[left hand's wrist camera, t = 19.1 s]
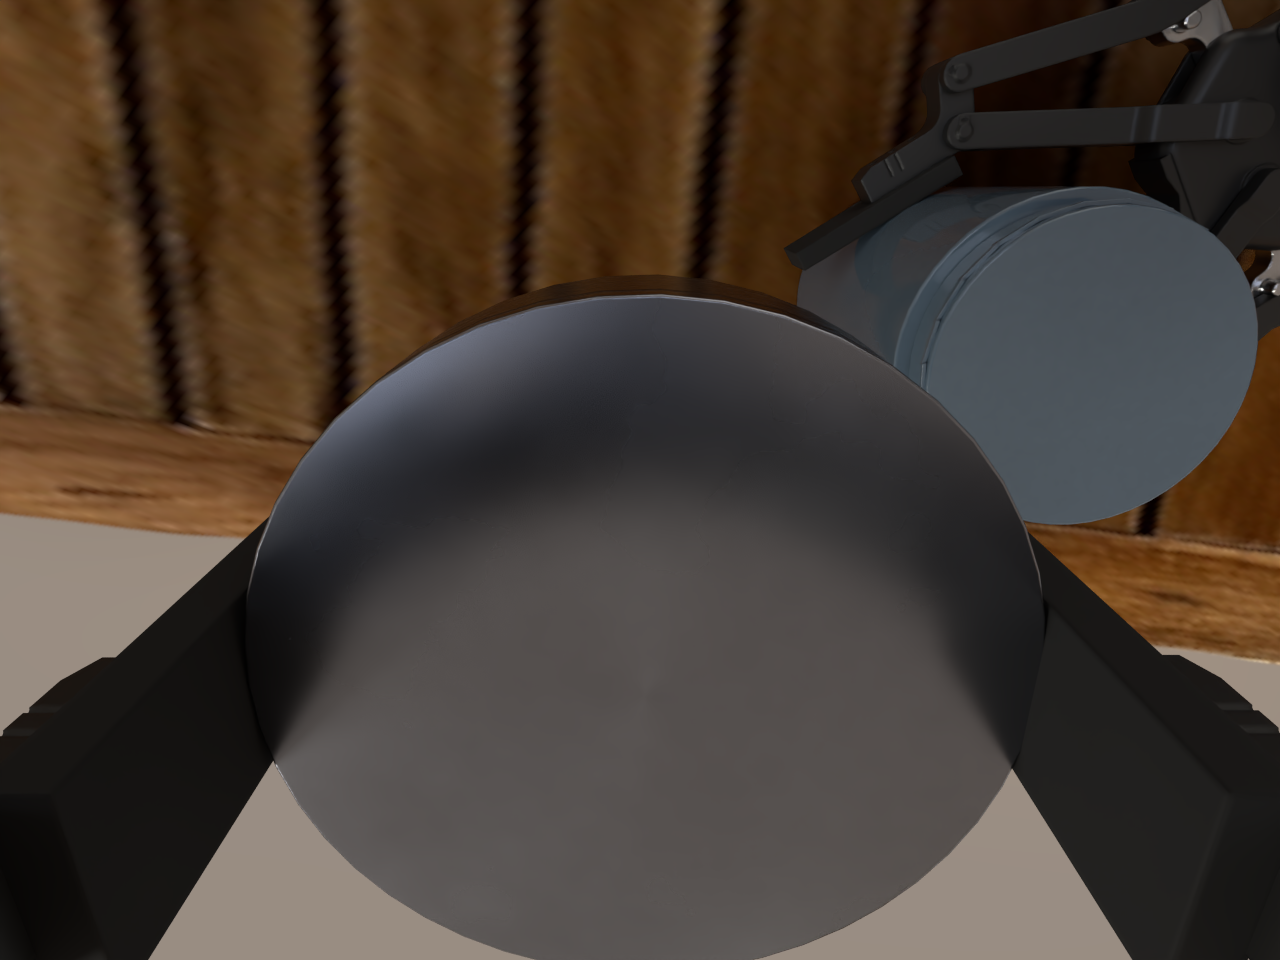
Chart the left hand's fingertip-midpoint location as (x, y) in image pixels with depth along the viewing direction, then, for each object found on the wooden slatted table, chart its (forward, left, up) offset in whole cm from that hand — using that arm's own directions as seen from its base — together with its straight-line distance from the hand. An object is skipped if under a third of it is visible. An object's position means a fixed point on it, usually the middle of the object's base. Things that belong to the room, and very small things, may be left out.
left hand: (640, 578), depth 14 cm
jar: (-2, +12, -26) cm, 29 cm away
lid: (0, 0, +3) cm, 3 cm away
